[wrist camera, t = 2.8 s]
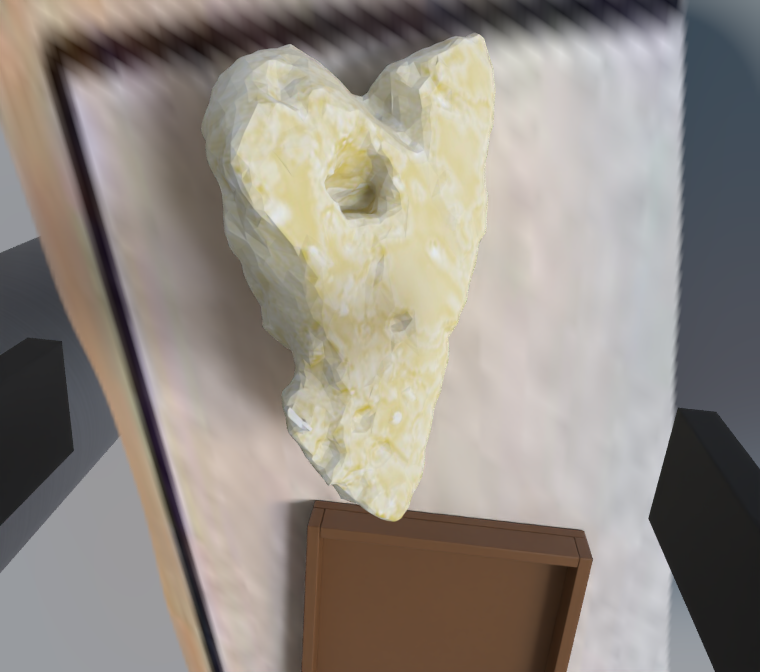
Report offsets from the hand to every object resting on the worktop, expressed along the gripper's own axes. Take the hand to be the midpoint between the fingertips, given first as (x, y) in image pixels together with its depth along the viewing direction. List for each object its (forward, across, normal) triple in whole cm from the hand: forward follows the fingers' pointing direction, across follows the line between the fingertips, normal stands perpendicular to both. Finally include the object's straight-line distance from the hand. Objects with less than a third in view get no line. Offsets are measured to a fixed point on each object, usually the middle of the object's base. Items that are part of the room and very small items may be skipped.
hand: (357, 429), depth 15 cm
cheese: (+15, 0, 0) cm, 15 cm away
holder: (+15, +3, -24) cm, 28 cm away
